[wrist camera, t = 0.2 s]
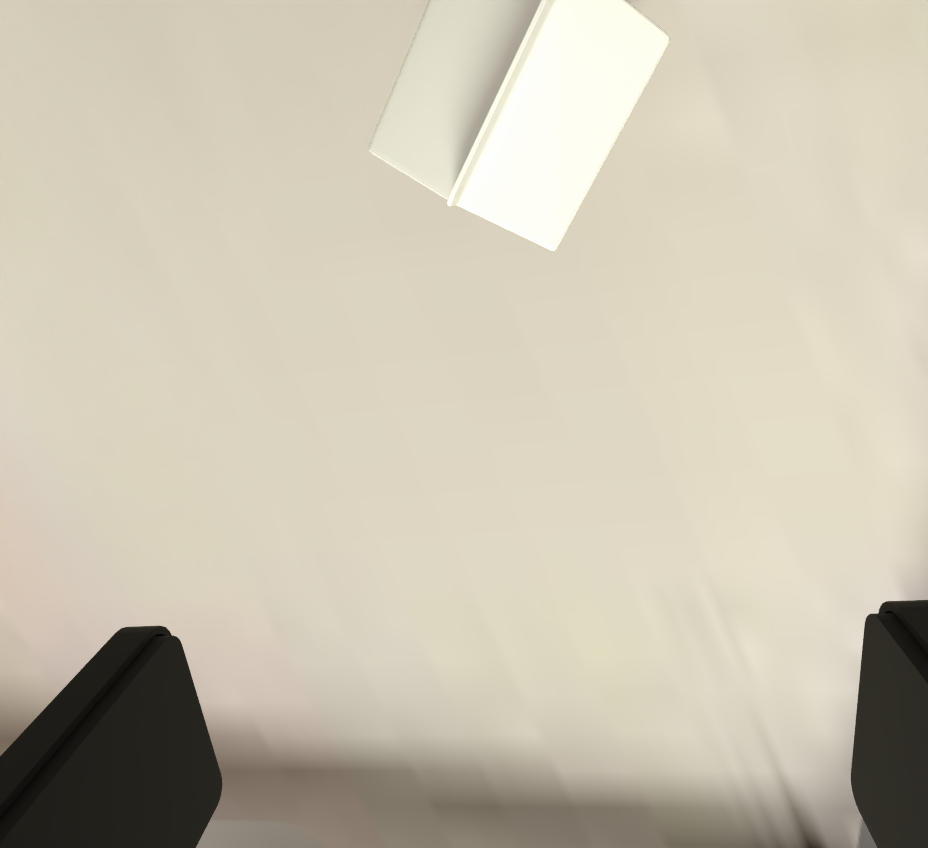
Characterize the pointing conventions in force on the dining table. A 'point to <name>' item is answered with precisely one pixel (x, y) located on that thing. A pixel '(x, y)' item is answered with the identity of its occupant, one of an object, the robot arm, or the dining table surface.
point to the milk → (517, 104)
